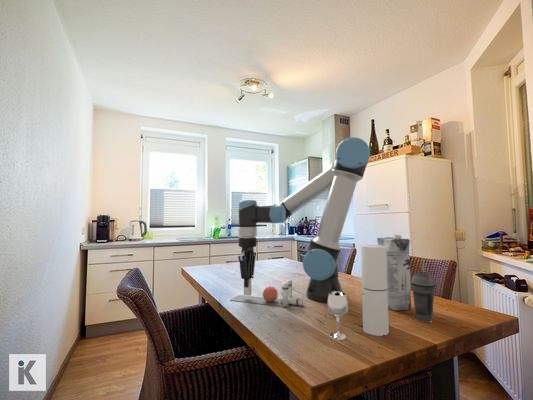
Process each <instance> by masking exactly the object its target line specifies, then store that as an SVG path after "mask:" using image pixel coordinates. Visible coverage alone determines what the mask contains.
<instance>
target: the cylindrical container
mask: <svg viewBox="0 0 533 400" xmlns="http://www.w3.org/2000/svg"><path fill="white" fill-rule="evenodd" d="M360 249H361V250H360V252H361V253H360V254H361V255H360V256H361V259H360V261H361V291H362V293H361V296H362V299H361V301H362V330H363V332H365V333H367V334H369V335H371V336H378V337H381V336H382V337H383V335H385V336H387V335H389V334H388V333H389V332H390V328H389V326H390V325H389V308H388V289H387V253H386V246H381V245H378V244H363V245H360Z"/></svg>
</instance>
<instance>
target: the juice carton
mask: <svg viewBox="0 0 533 400" xmlns="http://www.w3.org/2000/svg"><path fill="white" fill-rule="evenodd" d="M376 242H377V245H381V246H386V253H387V289H388V309H390V310H392V311H395V312H397V311H408V309H409V310H411V309H412V295H411V294H412V291H411V290H412V287H411V264H410V263H411V262H410V243H411V239H410V238H402V234H400V235H399V234H393V236H392V237H390V236H389V237H387V236H386V237H377V241H376Z"/></svg>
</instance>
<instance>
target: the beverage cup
mask: <svg viewBox="0 0 533 400" xmlns="http://www.w3.org/2000/svg"><path fill="white" fill-rule="evenodd" d="M410 286H411V290H412V295H413V304H414V312H415V318H417V319H418V320H417V319H416V320H417V321H419V320H420V321H419V322H422V321H424V322H423V323H431V322H430V321H432V322H433V316H434V300H435V299H434V298H435V296H434V295H435V291H436V286H437V285H436V281H435V279H434V276H432V275H431V274H430V273H429V272H426V271H425V258H422V271H417V272H416V273H414V274H413V275H412V277H411V278H410Z"/></svg>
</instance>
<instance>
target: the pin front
mask: <svg viewBox="0 0 533 400" xmlns="http://www.w3.org/2000/svg"><path fill="white" fill-rule="evenodd" d="M280 303H282V296H280ZM288 304H289V305H294V306H303V305H304V299H303V298H299V297H297V298H296V297H292V298H288Z"/></svg>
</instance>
